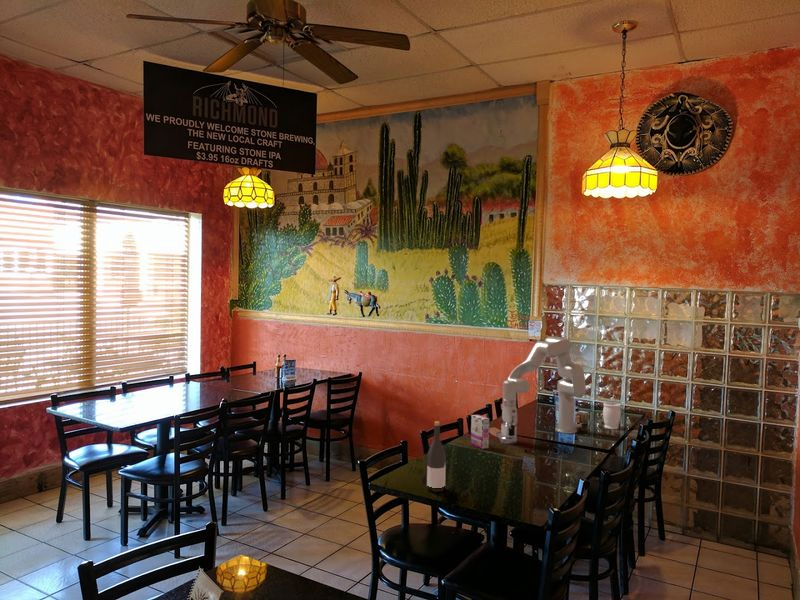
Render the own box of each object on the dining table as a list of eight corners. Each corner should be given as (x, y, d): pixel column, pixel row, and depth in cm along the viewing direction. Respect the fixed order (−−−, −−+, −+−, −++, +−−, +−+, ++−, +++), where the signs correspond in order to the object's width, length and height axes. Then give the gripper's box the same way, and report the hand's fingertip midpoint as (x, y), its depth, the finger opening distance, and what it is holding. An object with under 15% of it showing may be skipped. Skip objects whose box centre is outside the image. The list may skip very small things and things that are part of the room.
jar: (621, 430, 361) (622, 406, 360) (604, 429, 363) (604, 405, 362) (618, 425, 371) (619, 402, 371) (601, 425, 373) (601, 401, 372)
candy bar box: (489, 448, 321) (490, 418, 320) (481, 449, 319) (482, 419, 318) (477, 443, 331) (478, 414, 330) (470, 444, 329) (470, 414, 328)
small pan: (498, 431, 355) (498, 419, 355) (519, 443, 330) (519, 431, 330) (484, 432, 352) (484, 420, 352) (504, 444, 328) (505, 432, 327)
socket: (511, 433, 337) (511, 421, 337) (516, 436, 331) (516, 424, 331) (501, 434, 335) (501, 422, 335) (506, 437, 329) (506, 424, 329)
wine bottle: (425, 486, 263) (426, 419, 262) (443, 486, 264) (444, 419, 262) (427, 493, 255) (428, 424, 254) (446, 492, 256) (447, 424, 254)
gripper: (522, 405, 325) (522, 437, 326) (508, 398, 342) (507, 429, 342) (510, 406, 323) (510, 438, 324) (496, 399, 339) (495, 430, 340)
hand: (508, 433), depth 333 cm, fingers closed on socket, 6 cm apart
